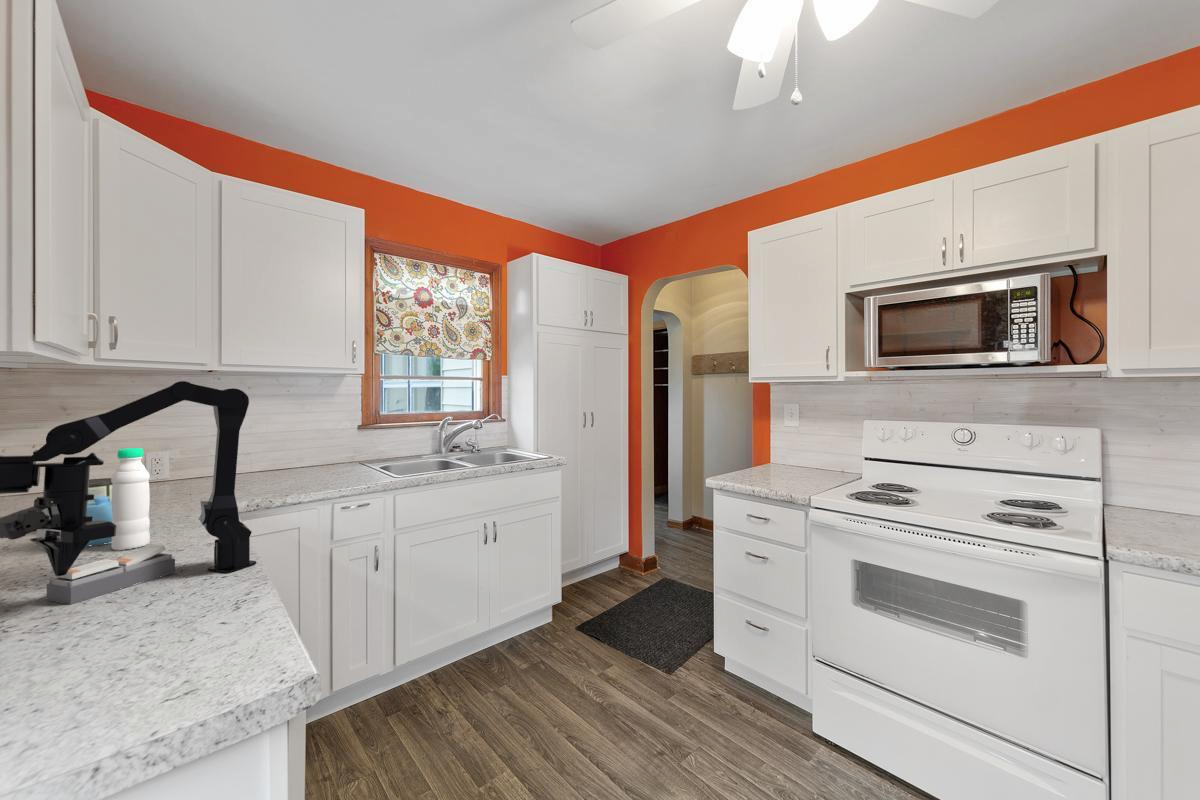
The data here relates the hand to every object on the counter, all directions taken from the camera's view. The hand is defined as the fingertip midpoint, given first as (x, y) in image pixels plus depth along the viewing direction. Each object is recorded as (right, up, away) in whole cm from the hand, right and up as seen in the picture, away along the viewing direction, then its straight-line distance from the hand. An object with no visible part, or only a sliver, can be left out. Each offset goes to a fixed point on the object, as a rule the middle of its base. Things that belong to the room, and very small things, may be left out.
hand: (60, 575), depth 91 cm
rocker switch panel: (+2, -5, +8) cm, 10 cm away
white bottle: (-19, -5, +34) cm, 39 cm away
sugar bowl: (-33, -5, +40) cm, 52 cm away
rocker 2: (+4, 0, +12) cm, 12 cm away
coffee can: (-45, -5, +50) cm, 68 cm away
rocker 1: (+1, 0, +4) cm, 4 cm away
